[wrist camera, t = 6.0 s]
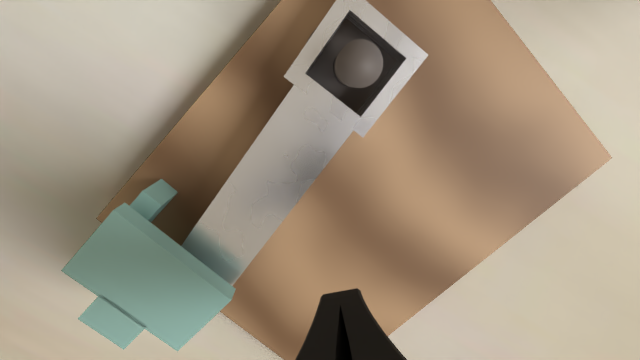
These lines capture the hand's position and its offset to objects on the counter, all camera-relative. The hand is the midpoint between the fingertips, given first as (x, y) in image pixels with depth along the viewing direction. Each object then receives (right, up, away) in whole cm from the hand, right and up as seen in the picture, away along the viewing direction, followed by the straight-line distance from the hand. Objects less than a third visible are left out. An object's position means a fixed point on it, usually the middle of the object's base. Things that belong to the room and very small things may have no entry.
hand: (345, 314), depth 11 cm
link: (-3, +5, +4) cm, 7 cm away
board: (+1, +5, +6) cm, 7 cm away
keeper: (-9, +1, +7) cm, 11 cm away
